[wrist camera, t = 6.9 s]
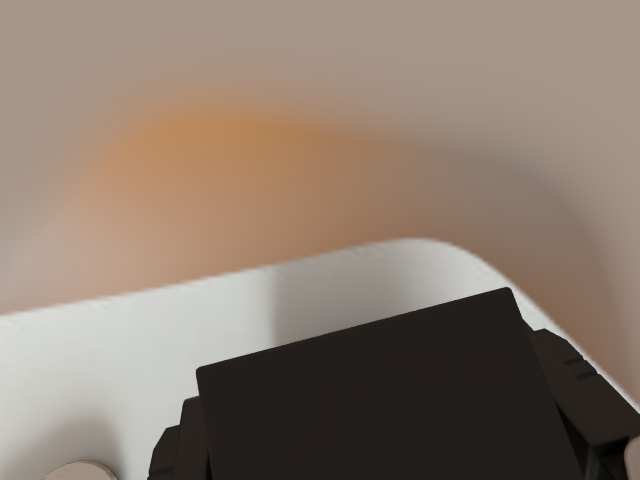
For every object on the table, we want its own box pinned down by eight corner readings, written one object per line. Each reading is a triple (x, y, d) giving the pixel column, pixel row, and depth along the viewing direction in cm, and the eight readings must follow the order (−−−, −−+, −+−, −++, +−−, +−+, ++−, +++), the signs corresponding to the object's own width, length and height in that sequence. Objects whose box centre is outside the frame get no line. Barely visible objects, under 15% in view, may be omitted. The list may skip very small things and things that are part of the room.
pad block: (413, 334, 15) (511, 284, 7) (461, 490, 14) (664, 678, 5) (274, 371, 15) (193, 368, 7) (308, 533, 14) (262, 799, 5)
